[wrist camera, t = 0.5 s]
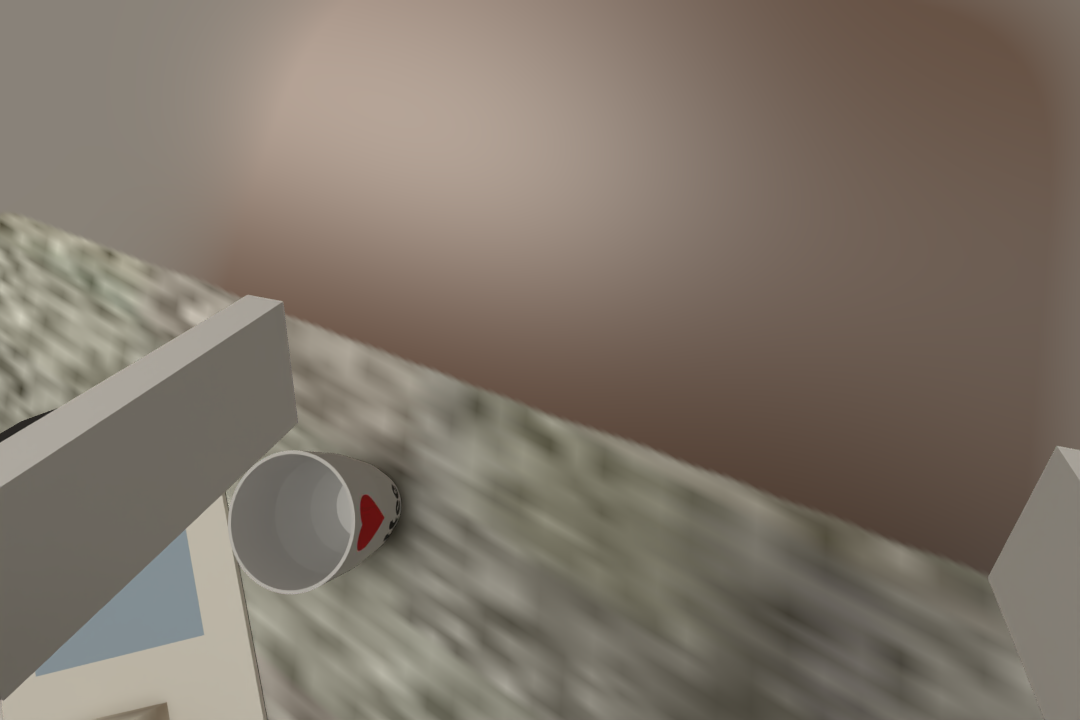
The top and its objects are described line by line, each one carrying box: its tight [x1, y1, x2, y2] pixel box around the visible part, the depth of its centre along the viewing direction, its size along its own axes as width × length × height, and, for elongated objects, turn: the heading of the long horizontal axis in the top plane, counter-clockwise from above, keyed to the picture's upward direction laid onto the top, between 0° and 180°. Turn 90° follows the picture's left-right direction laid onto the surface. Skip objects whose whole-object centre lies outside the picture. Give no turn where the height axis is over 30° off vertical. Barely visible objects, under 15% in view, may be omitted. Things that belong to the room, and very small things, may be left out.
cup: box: [228, 450, 401, 594], centre depth 45 cm, size 8×8×10 cm
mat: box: [1, 492, 267, 720], centre depth 52 cm, size 30×22×1 cm
